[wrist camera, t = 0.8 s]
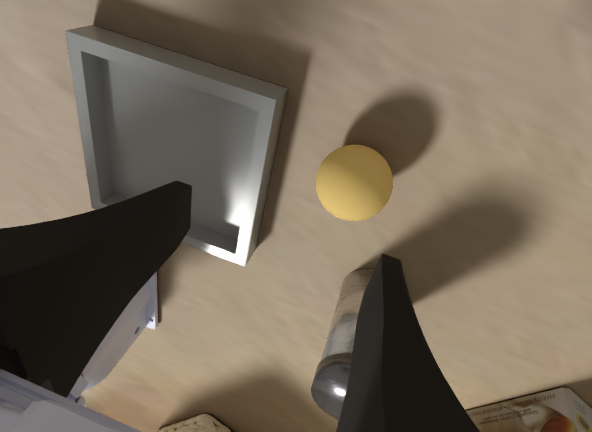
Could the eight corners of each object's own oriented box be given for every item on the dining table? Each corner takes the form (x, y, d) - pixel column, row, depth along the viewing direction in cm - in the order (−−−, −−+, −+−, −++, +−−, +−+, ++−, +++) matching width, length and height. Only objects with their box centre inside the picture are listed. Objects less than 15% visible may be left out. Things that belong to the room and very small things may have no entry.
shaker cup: (394, 326, 28) (382, 438, 21) (332, 302, 28) (302, 405, 22) (421, 283, 25) (416, 397, 18) (351, 257, 25) (323, 360, 19)
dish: (255, 248, 28) (245, 266, 26) (110, 193, 29) (91, 207, 27) (288, 88, 20) (275, 99, 19) (92, 25, 22) (65, 30, 20)
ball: (381, 205, 23) (372, 246, 19) (318, 183, 23) (299, 220, 20) (407, 146, 20) (402, 182, 17) (336, 123, 21) (318, 153, 17)
